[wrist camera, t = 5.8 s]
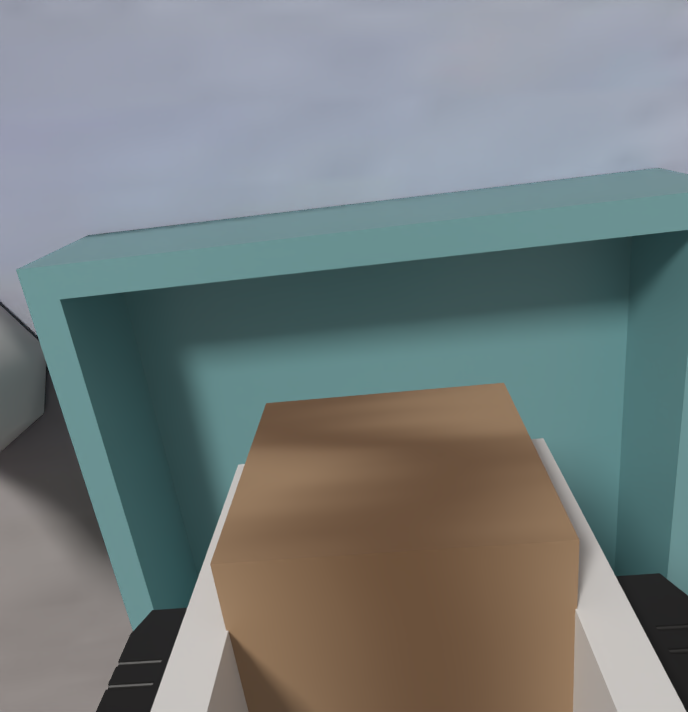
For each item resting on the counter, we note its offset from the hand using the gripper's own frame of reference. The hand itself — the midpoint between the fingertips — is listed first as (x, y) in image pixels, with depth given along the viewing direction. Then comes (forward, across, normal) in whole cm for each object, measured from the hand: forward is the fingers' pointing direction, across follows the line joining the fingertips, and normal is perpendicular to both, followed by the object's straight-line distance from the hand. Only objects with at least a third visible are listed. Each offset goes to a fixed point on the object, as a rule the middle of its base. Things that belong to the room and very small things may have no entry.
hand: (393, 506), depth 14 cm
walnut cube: (0, 0, 0) cm, 0 cm away
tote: (+11, 0, -4) cm, 11 cm away
